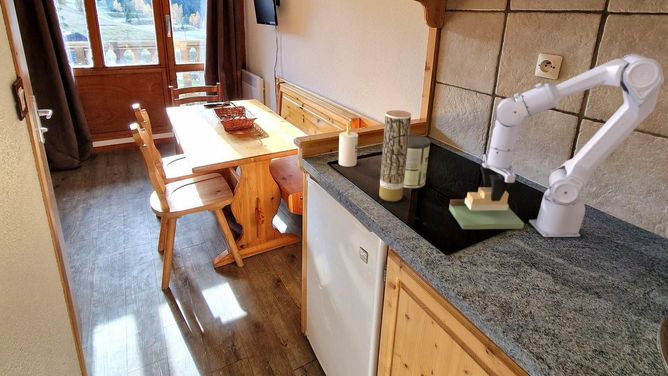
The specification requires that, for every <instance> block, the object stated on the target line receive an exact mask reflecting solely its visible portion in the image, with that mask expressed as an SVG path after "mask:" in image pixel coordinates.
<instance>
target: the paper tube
mask: <svg viewBox="0 0 668 376" xmlns="http://www.w3.org/2000/svg"><path fill="white" fill-rule="evenodd" d="M384 117H385V118H384V130H383V141H382V142H383V143H382V152H381V153H382V154H381V166H380V167H381V168H380V179H379V190H378V191H379V192H378V194H379V198H380V199H382V200H383V201H385V202H392V203H393V202H398V201H401V200H402V198H403V195H404V187H403V186H404V178H405V169H406V160H407V150H408V141H409V135H410V131H411V122H412V113H411V112H409V111H405V110H397V109H396V110H395V109H394V110H388V111H386V112H385V116H384Z"/></svg>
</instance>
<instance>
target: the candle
mask: <svg viewBox="0 0 668 376" xmlns="http://www.w3.org/2000/svg"><path fill="white" fill-rule="evenodd" d="M338 139H339V141H338V164H339V165H340V166H342V167H349V168H350V167H354V166H356V165H358V151H359V148H358V147H359V144H358V143H359V134H358V133H357V132H355V131H354V132H353V131H351V125H350V123H349V121H346V131H342V132H340V133H339V138H338Z"/></svg>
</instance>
